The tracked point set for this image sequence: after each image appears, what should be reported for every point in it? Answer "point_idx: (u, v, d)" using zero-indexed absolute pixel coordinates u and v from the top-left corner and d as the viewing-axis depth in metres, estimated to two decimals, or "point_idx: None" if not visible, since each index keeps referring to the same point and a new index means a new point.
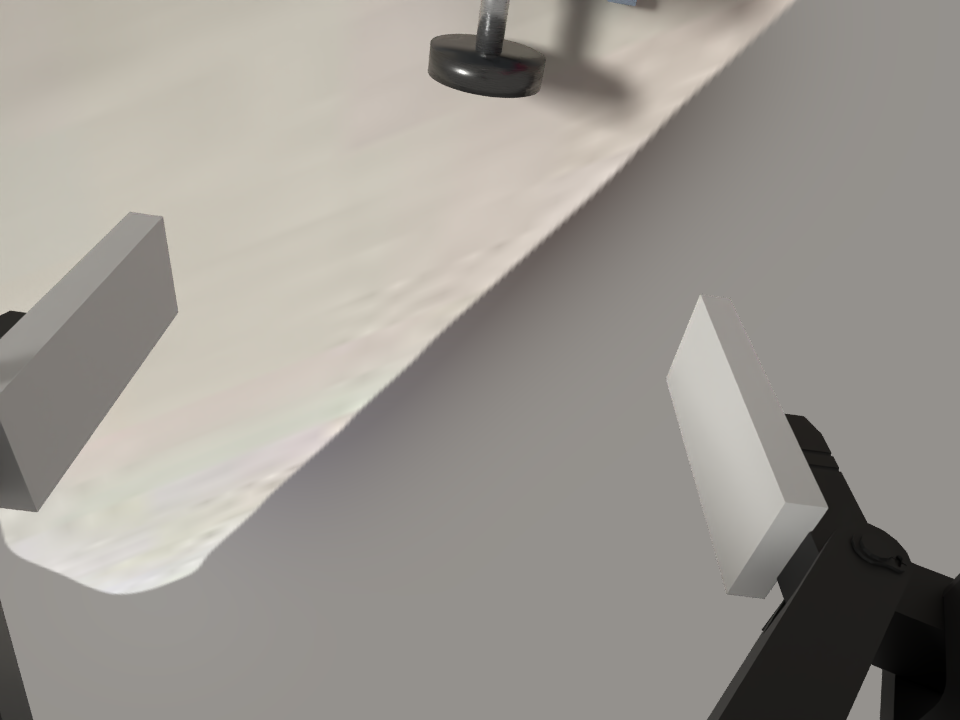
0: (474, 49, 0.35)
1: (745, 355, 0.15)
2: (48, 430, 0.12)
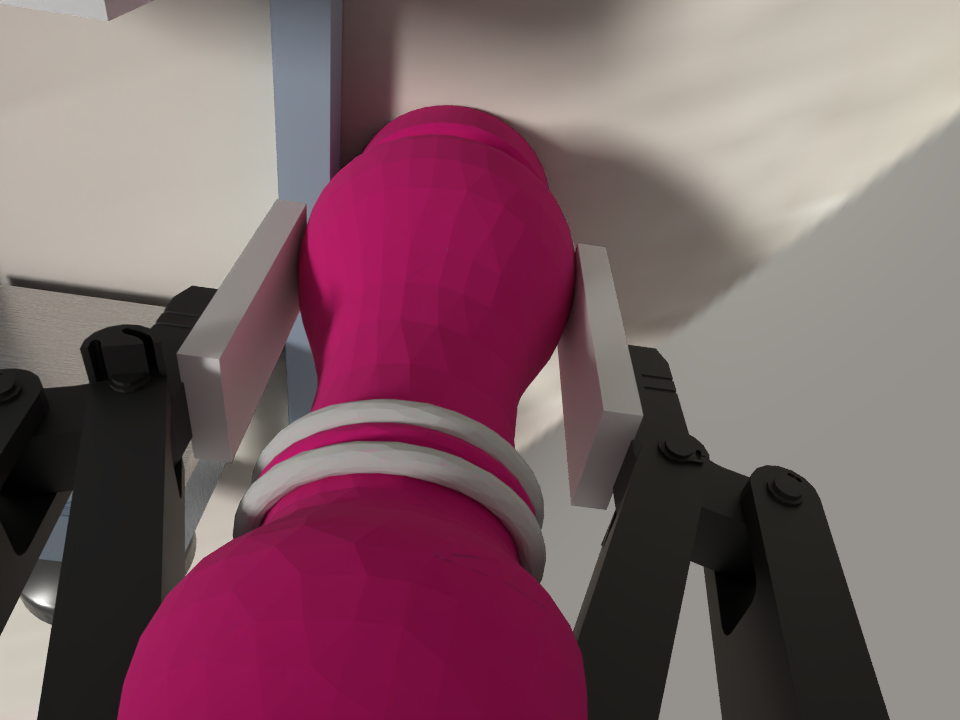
0: None
1: (604, 293, 0.16)
2: (241, 390, 0.14)
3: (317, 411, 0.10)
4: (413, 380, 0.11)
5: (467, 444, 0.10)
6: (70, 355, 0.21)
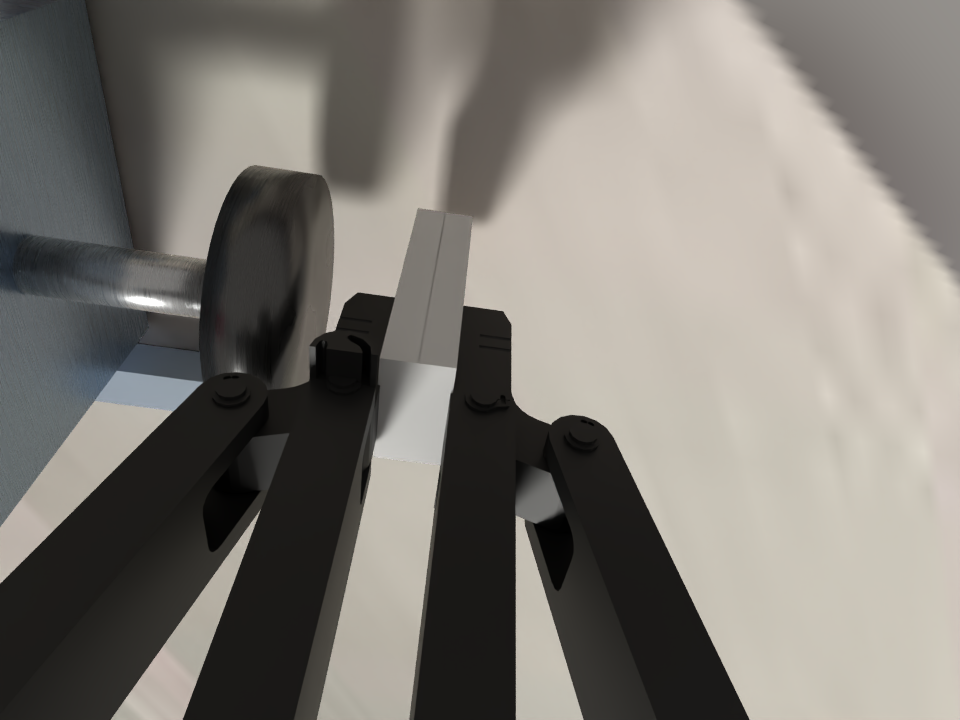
0: None
1: (456, 258, 0.16)
2: None
3: None
4: None
5: None
6: None
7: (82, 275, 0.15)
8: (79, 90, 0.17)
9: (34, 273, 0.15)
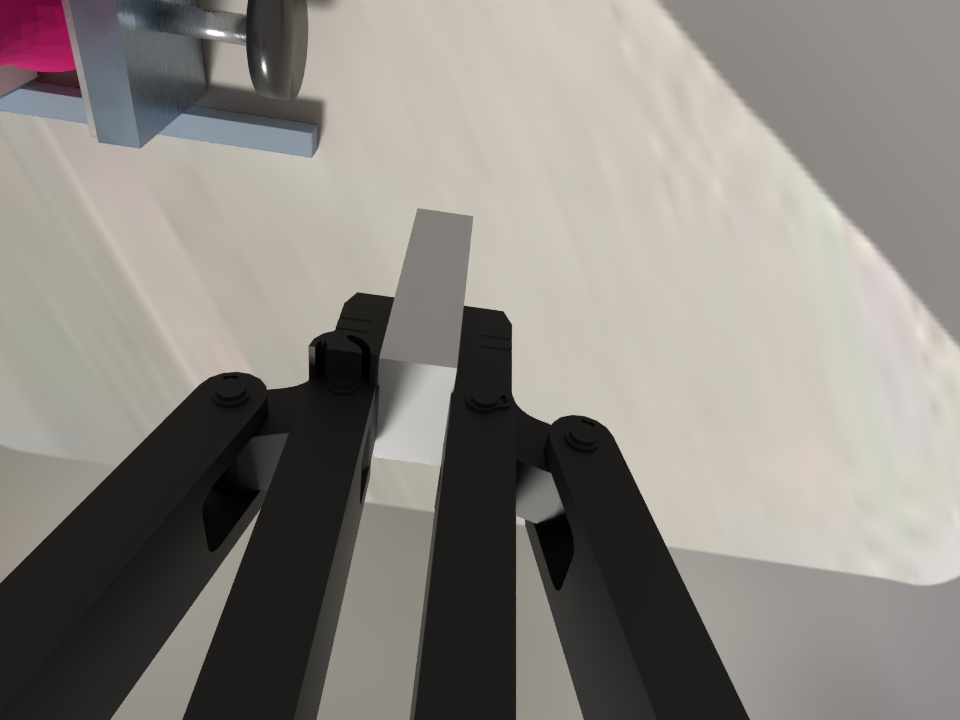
0: None
1: (456, 258, 0.16)
2: None
3: None
4: None
5: None
6: None
7: (188, 17, 0.33)
8: None
9: (166, 16, 0.33)
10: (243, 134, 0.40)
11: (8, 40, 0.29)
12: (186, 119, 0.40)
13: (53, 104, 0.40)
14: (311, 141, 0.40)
